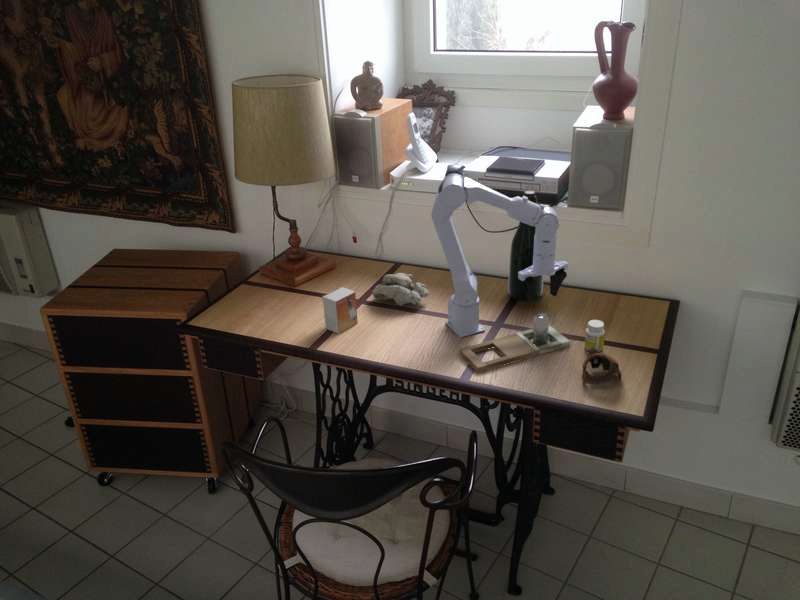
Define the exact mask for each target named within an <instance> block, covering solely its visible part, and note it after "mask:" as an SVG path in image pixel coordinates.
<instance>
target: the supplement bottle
mask: <svg viewBox="0 0 800 600" xmlns="http://www.w3.org/2000/svg"><path fill="white" fill-rule="evenodd" d="M604 328H605V323H604V322H603V321H602V320H599V319H591V320H589V321H588V323H587V328H586V329H585V338H584V349H583V350H584V352H585V353H586V354H588V355H589V352H588V351H589V349H591V348H595V349H596V350H598V352H599V353H602V354H603V352H604V344H605V343H604V342H605V335H606V331H605V329H604Z"/></svg>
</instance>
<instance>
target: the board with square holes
mask: <svg viewBox="0 0 800 600" xmlns="http://www.w3.org/2000/svg"><path fill="white" fill-rule="evenodd" d="M531 336H533V328H530V329H526V330H524V331H517V332H515V333H512V334H509V335H505V336H501V337H499V338H495V339H491V340H488V341H483V342H480V343H476V344H473V345H469V346H466V347H462V348H459V350H458V352H459V355H460V357H462V358H463V359H464V360H465V361H466V363H468V364H469V366H470V367H472V368H473V369H474V370H475V371H476V373H478V372H479V373H481V371H482V372H485V371H489V370H492V369H494V368H495V367H496V368H499V367H502V366H505V365H504V364H506V365H508V364H507V363H509V364H512V363H511V362H513V363H515V362H514V361H516V362H519V361H522V360H521V359H523V360H525V358H526V359H528V358H527V357H530V358H532V357H531V356H533V357H535V356H534V355H536V356H539V355H538V354H540V355H542V354H541V353H543V354H545V352H547V353H549V352H548V351H550V352H553V351H556V349H557V350H560V349H563V348H567V347H569V346H571V345H570V343H571V340H569V339H568V338H566V337H565V336H564V335H563V334H561V332H559V331H558V330H556V329H555V328H553V326H551V325H550V324H549V330H548V337H549V338H548V339H550V340H551V342H548V344H545V345H542V346H535V345H534V344H533V341H530V339H529V338H527V337H530V338H532V337H531ZM553 341H554V342H553ZM566 346H567V347H566ZM492 347H494V348H495V349H496V350H497V351H498V352H499V353H500V354H501V355H500V354H499V353H498V352H497V351H496V350H495V349H494V348H492ZM488 348H491V349H494V350H495V351H496V352H497V353H498V354H499V355H500V356H501V357H498V358H494V359H490V360H488V361H487V360H486V361H483V360H482V359H481V358H480V357H479V356H477V355H476V354H477V353H479V351H480V352H482V350H484V351H486V350H485V349H487V350H489V349H488ZM552 350H553V351H552ZM476 352H477V353H476ZM518 360H519V361H518ZM501 365H502V366H501ZM488 369H489V370H488Z"/></svg>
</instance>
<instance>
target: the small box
mask: <svg viewBox="0 0 800 600" xmlns="http://www.w3.org/2000/svg"><path fill="white" fill-rule="evenodd" d="M356 297H357V296H356V291H354V290H351V289H348V288H346V287H343V286H341V287H340V288H337V289H336V290H333V291H332V292H330V293H327V294H325V295H322V303H323V304H322V307H323V313H324V325H325V329H327V330H328V331H332V332H333V333H335V334H339V335H340V334H341V333H343V332H344V331H346V330H349V329H350V328H352V327H353V326H356V325H358V323H359V322H358V320H359V319H358V311H357V298H356Z"/></svg>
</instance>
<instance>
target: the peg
mask: <svg viewBox="0 0 800 600" xmlns="http://www.w3.org/2000/svg"><path fill="white" fill-rule="evenodd" d="M549 325H550V315H548V314H546V313H537V314H534V316H533V325H532V326H533V327H532V329H533V337H532V343H533V344H535V345H536V346H537V347H538V346H542V345H545V344H549V338H548V330H549Z"/></svg>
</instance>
